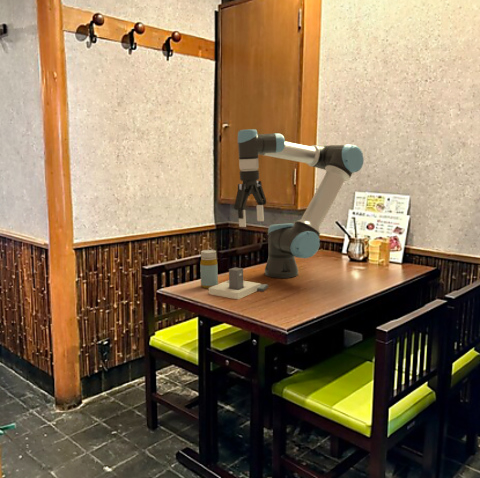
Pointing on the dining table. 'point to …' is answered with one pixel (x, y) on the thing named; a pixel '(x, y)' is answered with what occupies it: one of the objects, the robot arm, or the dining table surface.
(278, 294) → the dining table surface
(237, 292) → the plate
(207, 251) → the bottle
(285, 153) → the robot arm
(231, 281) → the block
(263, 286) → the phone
